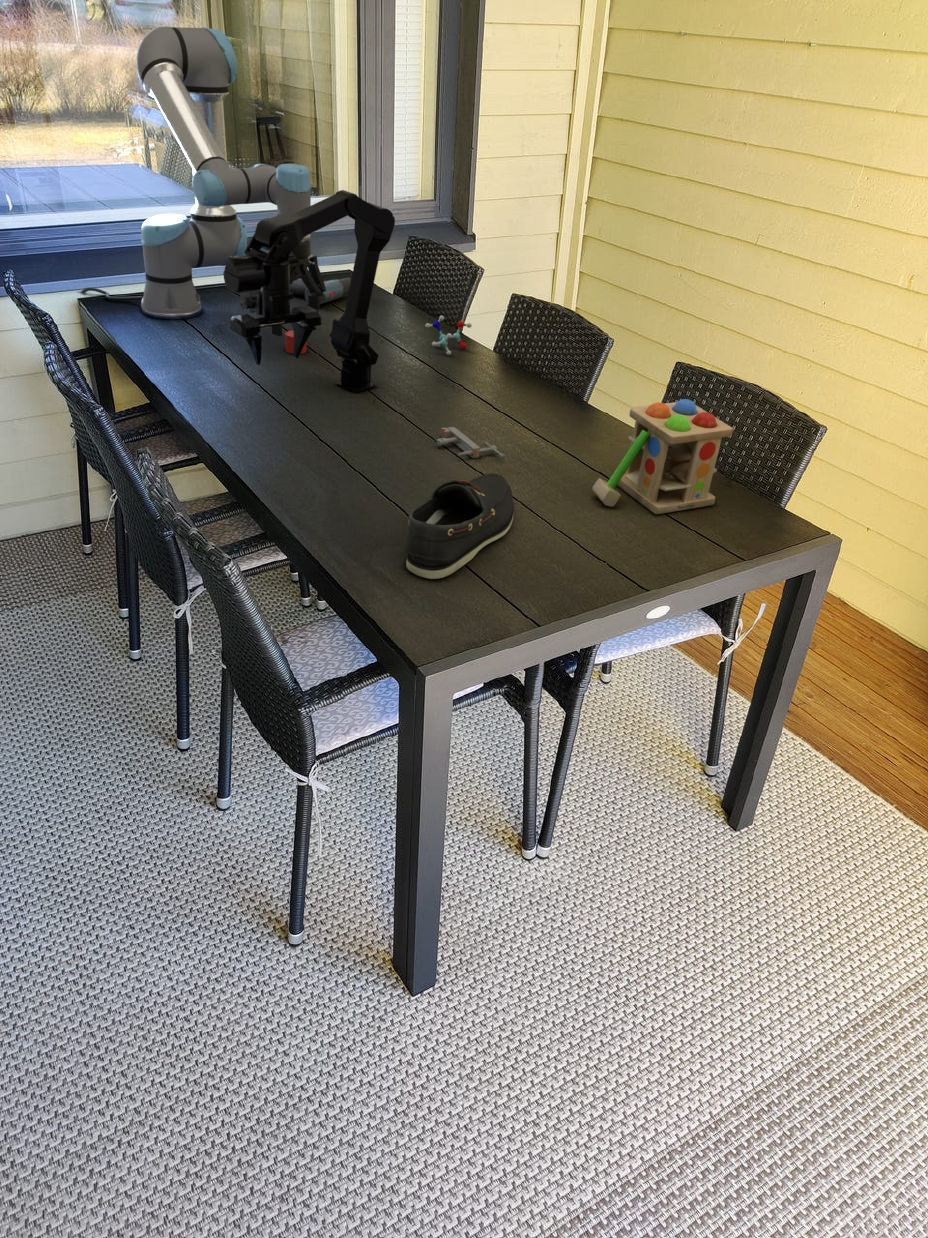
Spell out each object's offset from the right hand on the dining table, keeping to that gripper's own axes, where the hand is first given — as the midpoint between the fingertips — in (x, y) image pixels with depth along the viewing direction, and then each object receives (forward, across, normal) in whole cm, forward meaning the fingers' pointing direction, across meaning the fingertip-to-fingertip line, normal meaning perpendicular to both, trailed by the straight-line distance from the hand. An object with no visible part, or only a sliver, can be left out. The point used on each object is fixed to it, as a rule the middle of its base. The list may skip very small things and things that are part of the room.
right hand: (277, 360), depth 208 cm
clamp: (+10, -21, +39) cm, 46 cm away
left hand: (+4, -21, -27) cm, 35 cm away
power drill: (+10, -50, -66) cm, 83 cm away
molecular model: (+10, -56, -12) cm, 58 cm away
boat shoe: (+10, +2, +66) cm, 67 cm away
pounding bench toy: (+10, -39, +73) cm, 83 cm away
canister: (+10, -21, -28) cm, 36 cm away
